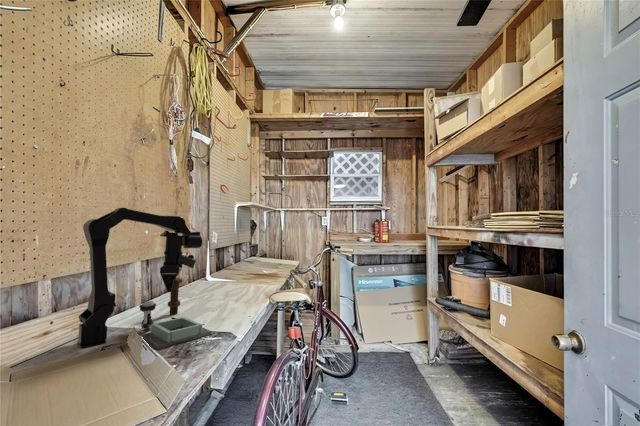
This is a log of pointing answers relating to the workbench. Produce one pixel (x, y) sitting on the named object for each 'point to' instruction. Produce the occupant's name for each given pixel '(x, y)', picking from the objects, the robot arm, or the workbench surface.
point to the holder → (189, 329)
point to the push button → (147, 315)
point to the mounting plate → (160, 343)
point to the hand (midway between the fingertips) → (170, 289)
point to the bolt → (174, 297)
